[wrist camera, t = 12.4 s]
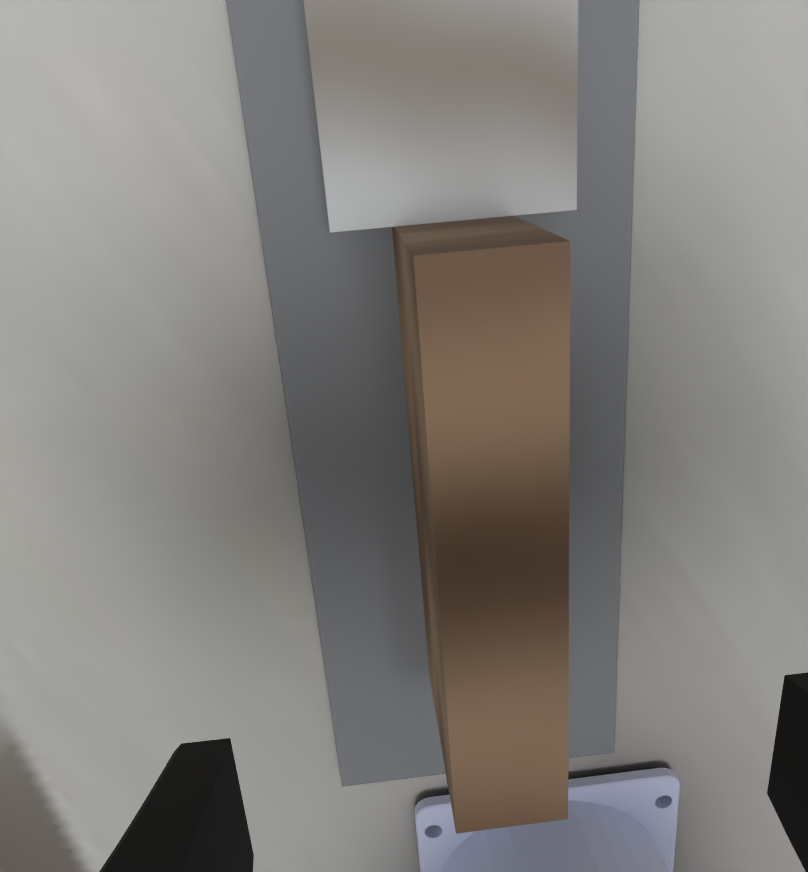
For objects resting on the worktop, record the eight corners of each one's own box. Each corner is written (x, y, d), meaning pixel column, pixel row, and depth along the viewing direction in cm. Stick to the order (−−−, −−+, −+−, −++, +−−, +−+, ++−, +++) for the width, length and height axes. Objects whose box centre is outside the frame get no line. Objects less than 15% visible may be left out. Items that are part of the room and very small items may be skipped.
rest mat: (609, 741, 22) (614, 752, 22) (341, 775, 22) (341, 786, 22) (635, -96, 14) (643, -102, 14) (219, -66, 14) (215, -71, 14)
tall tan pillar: (563, 659, 21) (628, 811, 16) (381, 681, 20) (394, 841, 16) (562, -32, 14) (669, -112, 10) (303, -12, 14) (286, -85, 10)
